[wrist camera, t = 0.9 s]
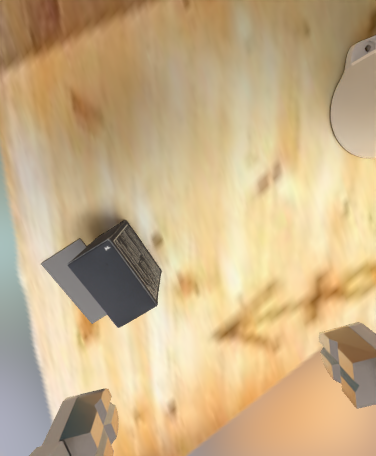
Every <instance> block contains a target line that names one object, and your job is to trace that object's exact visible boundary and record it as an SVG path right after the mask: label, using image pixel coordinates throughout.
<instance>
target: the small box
mask: <svg viewBox="0 0 376 456" xmlns="http://www.w3.org/2000/svg"><path fill="white" fill-rule="evenodd" d="M67 266H68V267H69V268H70V269H71V271H72V272H73V273H74V274H75V276H76V277H77V278H78V279H79V280H80V282H81V283H82V284H83V285H84V287H85V288H86V289H87V290H88V291H89V293H90V294H91V295H92V296H93V298H94V299H95V300H96V301H97V303H98V304H99V305H100V306H101V308H102V309H103V310H104V311H105V312H106V314H107V315H108V316H109V317H110V319H111V320H112V321H113V322H114V324H115V325H116V326H117V327H118V328H119V327H121V326H123V325H125V324H127V323H129V322H130V321H132V320H134V319H136V318H137V317H139V316H141V315H142V314H144V313H146V312H147V311H149V310H151V309H153V308H154V307H156V306H157V304H158V301H157V300H158V291H159V284H160V277H161V272H162V271H161V269H160V268H159V266H158V265H157V263H156V262H155V261H154V259H153V258H152V256H151V255H150V253H149V252H148V250H147V249H146V248H145V246H144V245H143V243H142V241H141V240H140V239H139V237H138V236H137V235H136V233H135V232H134V230H133V229H132V227H131V226H130V225H129V223H128V222H127V221H126V220H123V221H122V222H121V223H120V224H118V225H117V226H114V228H112V229H110V230H108V231H107V232H105V233H103V234H101V235H100V236H99V237H98V238H96V239H95V240H94V241H93V242H92V243H91V244H89V245H88V246H87V247H86V248H85V249H84V250H83V251H82V252H80V253H79V254H78V255H77V256H76V257H75V258H74V259H73V260H72V261H70V262H69V263H68V264H67Z"/></svg>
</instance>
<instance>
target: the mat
mask: <svg viewBox="0 0 376 456" xmlns="http://www.w3.org/2000/svg"><path fill="white" fill-rule="evenodd" d="M86 247H87V246H86V245H85V244H84V243H83V241H82V240H81V239H79V240H77V241H76V242H74V243H72V244H71V245H69V246H68V247H66V248H65V249H63V250H62V251H60V252H59V253H57V254H55V255H54V256H52V257H51V258H49V259H48V260H46V261H45V262H43V263H42V264H41V265H42V266H43V267H44V268H45V269H46V270H47V272H48V273H49V274H50V275H51V276H52V278H53V279H54V280H55V281H56V282H57V283H58V285H59V286H60V287H61V288H62V289H63V290H64V292H65V293H66V294H67V295H68V296H69V297H70V299H71V300H72V301H73V302H74V303H75V305H76V306H77V307H78V308H79V309H80V310H81V312H82V313H83V314H84V315H85V316H86V317H87V319H88V320H89V321H90V322H91V323H92V324H93V323H94V322H96V321H98V320H99V319H101V318H102V317H104V316H106V315H107V314H106V312H105V311H104V310H103V309H102V308H101V306H100V305H99V304H98V303H97V301H96V300H95V299H94V298H93V296H92V295H91V294H90V293H89V291H88V290H87V289H86V288H85V287H84V285H83V284H82V283H81V282H80V280H79V279H78V278H77V277H76V276H75V274H74V273H73V272H72V271H71V269H70V268H69V267H68V266H67V264H68V263H69V262H70V261H72V260H73V259H74V258H75V257H76V256H77V255H78V254H79V253H80V252H82V251H83V250H84V249H85V248H86Z"/></svg>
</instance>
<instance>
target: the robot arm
mask: <svg viewBox="0 0 376 456" xmlns="http://www.w3.org/2000/svg"><path fill="white" fill-rule="evenodd" d="M365 48H367V52H366V50H365ZM331 123H332V128H333V131H334V134H335V136H336V138H337V140H338V141H339V143H340V144H341V145H342V147H343V148H344V149H346V150H347V151H348V152H350V153H351V154H353V155H356V156H358V157H362V158H376V35H375V36H373V37H370V38H368V39H365V40H363V41H360V42H358V43H356V44H354V45H353V46H351V48H350V49H349V51H348V54H347V58H346V64H345V71H344V74H343V76H342V78H341V80H340V82H339V84H338V86H337V88H336V90H335V93H334V96H333V99H332V104H331ZM319 342H320V343H321V344H322V345H323V349H322V350H321V357H322V360H323V363H324V366H325V368H326V370H327V371H328V373H329V374H330V376H331V377H332V378H333V380H335V381H337V382H339V383H341V384H342V391H343V392H344V394H345V395H346V396H347V397H348V398H349V399H350V401H351V402H352V403H353V405H354V406H355V407H356V408H362V407H367V406H371V405H375V404H376V334H375V333H374V332H373V331H372V330H370V329H369V328H368V327H366V326H365V325H364V324H362V323H360V322H356V323H353V324H349V325H346V326H343V327H339V328H335V329H332V330H328V331H324V332H320V333H319ZM110 400H111V394H110V392H109V389H101V390H97V391H93V392H88V393H84V394H80V395H77V396H73V397H68V398H66V399H65V400H64V401H63V402H62V405H61V407H60V409H59V411H58V413H57V415H56V417H55V419H54V421H53V423H52V426H51V428H50V430H49V432H48V434H47V436H46V438H45V440H44V443H43V444H42V446H41V447H37V448H36V449H35V450H34V451H33V452H32V453H31V454H30V455H29V456H113V453H114V451H113V448H112V446H111V444H112V443H113V442H114V440H115V439H116V437H117V433H118V413H117V409H116V406H115V405H113V404H112V403H110Z"/></svg>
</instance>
